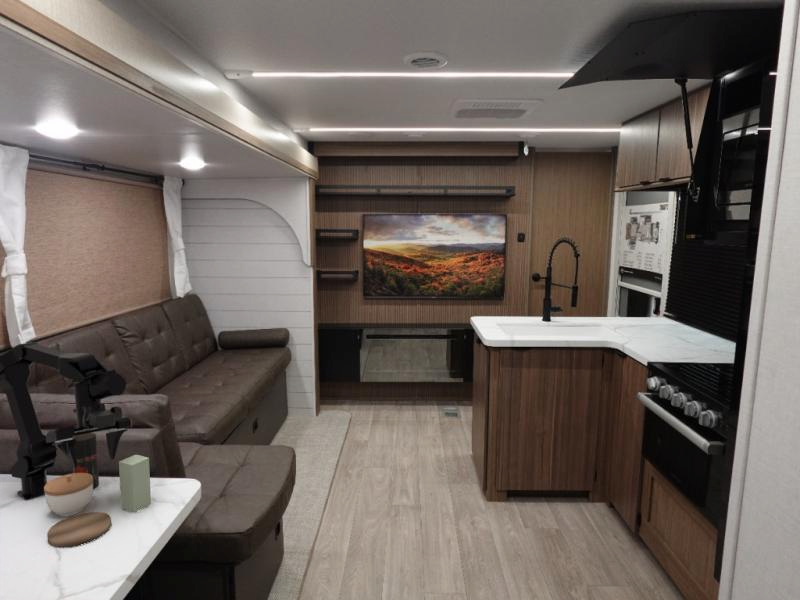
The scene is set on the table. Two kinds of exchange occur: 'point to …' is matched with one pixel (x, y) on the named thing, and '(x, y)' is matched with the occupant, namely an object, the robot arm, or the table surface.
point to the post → (135, 483)
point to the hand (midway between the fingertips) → (94, 463)
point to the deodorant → (87, 456)
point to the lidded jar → (69, 493)
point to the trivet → (79, 529)
